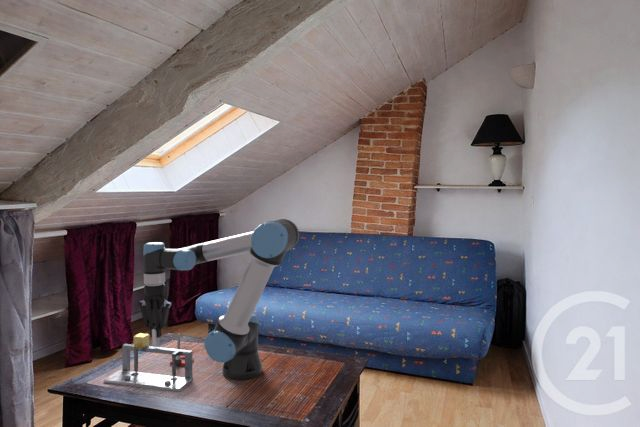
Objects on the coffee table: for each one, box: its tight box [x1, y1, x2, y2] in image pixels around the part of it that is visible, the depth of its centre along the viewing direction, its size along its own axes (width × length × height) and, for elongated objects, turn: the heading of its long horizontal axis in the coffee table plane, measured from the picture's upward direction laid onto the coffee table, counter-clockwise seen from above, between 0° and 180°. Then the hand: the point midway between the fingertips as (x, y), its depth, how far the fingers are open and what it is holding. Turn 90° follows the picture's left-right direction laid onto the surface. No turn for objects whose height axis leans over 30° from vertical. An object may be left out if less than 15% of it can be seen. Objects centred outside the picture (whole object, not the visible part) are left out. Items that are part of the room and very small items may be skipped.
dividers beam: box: [121, 343, 193, 379], centre depth 175 cm, size 28×5×10 cm, turn 78°
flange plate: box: [103, 369, 193, 393], centre depth 170 cm, size 30×9×2 cm, turn 78°
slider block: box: [133, 332, 150, 374], centre depth 176 cm, size 4×6×13 cm, turn 168°
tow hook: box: [169, 333, 195, 367], centre depth 189 cm, size 8×13×9 cm
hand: (155, 345), depth 176 cm, fingers closed
